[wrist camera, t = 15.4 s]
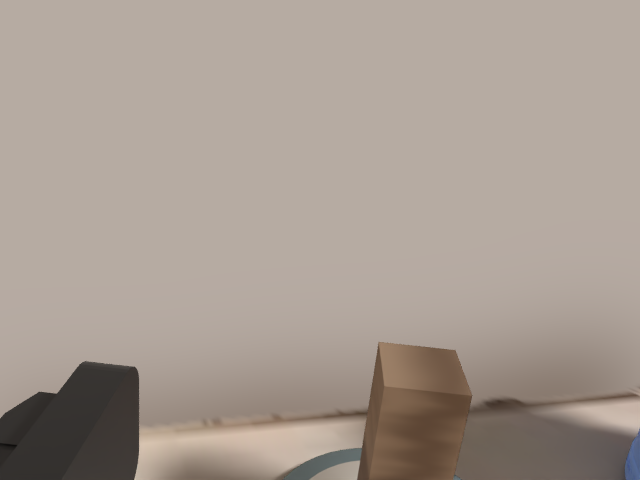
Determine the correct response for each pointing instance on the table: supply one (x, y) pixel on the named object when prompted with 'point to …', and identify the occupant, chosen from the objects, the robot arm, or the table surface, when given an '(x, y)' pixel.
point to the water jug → (633, 460)
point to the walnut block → (414, 414)
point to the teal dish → (331, 467)
